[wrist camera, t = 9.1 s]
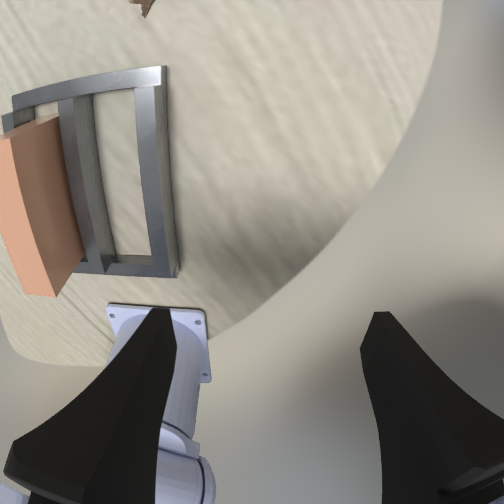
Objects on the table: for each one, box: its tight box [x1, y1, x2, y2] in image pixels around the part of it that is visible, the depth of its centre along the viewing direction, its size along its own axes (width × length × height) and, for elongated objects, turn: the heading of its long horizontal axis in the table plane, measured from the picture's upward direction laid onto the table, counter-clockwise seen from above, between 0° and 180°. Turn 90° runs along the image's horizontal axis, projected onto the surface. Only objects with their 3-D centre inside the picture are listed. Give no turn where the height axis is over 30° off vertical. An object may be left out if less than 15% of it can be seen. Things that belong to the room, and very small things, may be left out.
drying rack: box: [2, 66, 180, 278], centre depth 17 cm, size 13×10×2 cm
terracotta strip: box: [0, 113, 86, 297], centre depth 15 cm, size 9×2×6 cm, turn 178°
